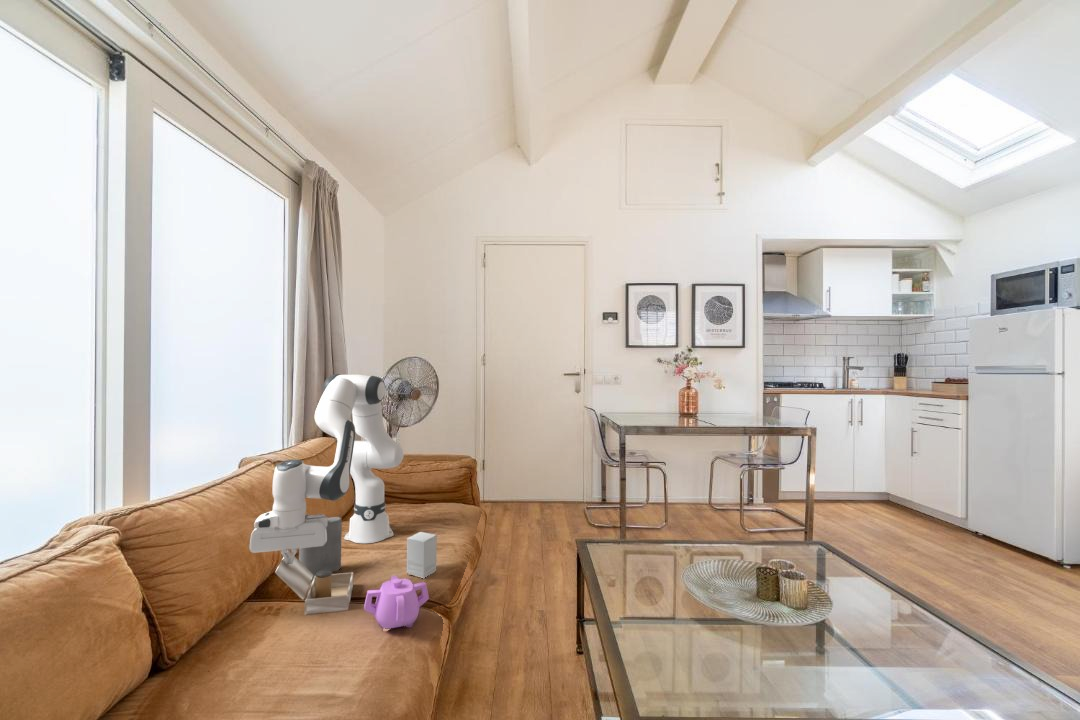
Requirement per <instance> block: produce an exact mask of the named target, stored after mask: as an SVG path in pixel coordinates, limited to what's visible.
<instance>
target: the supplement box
mask: <svg viewBox="0 0 1080 720" xmlns="http://www.w3.org/2000/svg"><path fill="white" fill-rule="evenodd" d="M437 537H438V536H437V534H433V533H429V532H423V531H419V532H417V533H414V534H413V535H411V536H409V537H407V539H406V574H407V573H409V574H412V575H415V576H418V577H421V578H423V580H424V579H426V578H428V577H429V576H431V575H432V574H434V573H435V571H436V572H437V545H438V544H437V543H438V541H437V540H438V539H437ZM430 574H431V575H430ZM428 575H429V576H428ZM427 576H428V577H427ZM425 577H426V578H425ZM421 578H420V579H421Z"/></svg>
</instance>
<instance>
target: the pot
mask: <svg viewBox="0 0 1080 720" xmlns="http://www.w3.org/2000/svg"><path fill="white" fill-rule="evenodd" d="M418 590H421V591H420V592H421V594H420V595H419V596H418V593H417V591H418ZM428 590H429V589H428V587H427V583H426V581H422V582H418V583H413V582H412V580H410V579H408V578H399V577H398V575H397V574H394V575H393V574H392V575H391V576H390V580H386V581H384V582H382V584H381V586H380V588H379V589H370V590H367V592H366V595H365V596H366V597H365V601H364V606H363V610H364V611H365V612H368V613H370V615H373V616H374V618H375V620H376V622H377V623H378V625H379V626H380V627H381V628H382V629H383V628H385V629H390V628H392V629H395V628H400V627H405V626H406V627H409V628H412V627H414V623H415V622H416V621H417V618H418V616H419V612H420V607H421V606H423V605H424V604H425V603H426V602H427V601H428V600H430V596H429V591H428ZM373 597H376V600H375V604H374V603H372V600H373ZM406 627H405V628H406Z"/></svg>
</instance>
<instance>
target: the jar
mask: <svg viewBox="0 0 1080 720" xmlns="http://www.w3.org/2000/svg"><path fill="white" fill-rule="evenodd" d="M332 574H333V572H332V571H331V570H321V571H318V572H317V573H316V593H315V599H316V598H325V597H331V592H332Z"/></svg>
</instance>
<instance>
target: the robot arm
mask: <svg viewBox="0 0 1080 720" xmlns="http://www.w3.org/2000/svg"><path fill="white" fill-rule="evenodd" d="M322 392H323V393H322V395H321V397H320V399H319V402H318V404H317V407H316V409H315V412H314V422H315V424H316V426H317V427H318V428H319V429H320V430H321V431H322V432H323V433H325V434H327V435H329V436H331V437H333V438H335V439H336V440H337V443H336V450H335V455H334V461H333V463H332V464H331V465H329V466H321V465H319V466H318V465H310V464H306V463H304V461H303V460H301V459H297V458H294V459H287V460H284V461H281V462H280V463H277V465H275V468H274V472H273V476H272V477H273V478H272V488H271V489H272V490H271V491H272V492H271V493H272V494H271V495H272V497H273V504H272V510H270V511H268V512H265V513H262V514H260V515H259V516H258V517H257V518H256V519H255V521H254V523H253V527H254V529H253V530H252V532H251V534H250V540H249V551H250V553H253V554H256V553H265V552H266V553H267V552H277V551H281V552H280V553H281V555H282V558H283V557H284V558H285V564H293V561H294V556H295V555H296V554H297V552H298V550H299V548H309V547H319V546H324V544H325V543H326V541H327V532H326V527H327V526H328V519H327V518H328V517H327V515H326V516H324V515H325V514H324V515H322V514H323V513H319V514H307V501H306V499H305V498H309V499H321V500H326V501H332V502H333V501H334V502H336V501H338V500H340V499H342V497H343V496H345V495H346V494H347V493H348V491H349V489H350V484H351V478H352V479H353V484H354V488H355V490H354V492H355V502H354V504H353V506H354V507H353V515H352V516H351V517H350V518H349V528H348V529H349V531H347V533H346V534H345V535H344V538H343V540H345V541H346V540H347V541H351V542H353V543H355V544H372V543H374V544H375V543H378V542H381V541H384V540H386V539H388V538H391V537H394V532H393V530H392V528H391V526H390V522H389V519H390V517H389V515H388V513H386V507H387V506H386V501H385V483H384V481H383V480H382V478H380V477H379V476H377V475H375V474H374V472H373V471H372V470H373V469H377V470H378V469H380V470H387V469H393V468H398V466H400V465H401V463H402V461H403V459H404V455H405V454H404V449H403V447H402V445H401V444H400V443H398V442H397V441H395V440H394V439H393V438H392V437H391V436H390V435H389V433H388V432H387V430H386V428H385V425H384V418H383V409H382V401H383V400H384V398H385V394H386V384H385V381H384V380H383V379H382V378H381V377H379V376H375V375H365V374H358V373H356V374H352V373H351V374H340V373H336V374H332V375H329V376H328V377H327V378H326V379H325V380H324V383H323V386H322ZM351 417H352V420H351ZM356 434H357V436H360V437H361V438H363V439H365V440H355V439H356ZM288 550H291V551H290V552H291V553H292V555H291V556H289V555H288V554H287V551H288ZM295 557H296V556H295Z"/></svg>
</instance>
